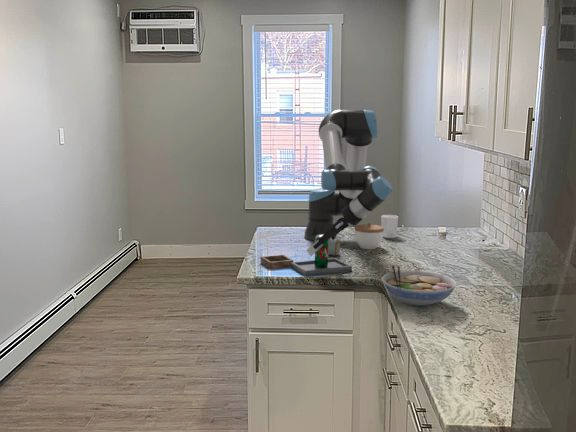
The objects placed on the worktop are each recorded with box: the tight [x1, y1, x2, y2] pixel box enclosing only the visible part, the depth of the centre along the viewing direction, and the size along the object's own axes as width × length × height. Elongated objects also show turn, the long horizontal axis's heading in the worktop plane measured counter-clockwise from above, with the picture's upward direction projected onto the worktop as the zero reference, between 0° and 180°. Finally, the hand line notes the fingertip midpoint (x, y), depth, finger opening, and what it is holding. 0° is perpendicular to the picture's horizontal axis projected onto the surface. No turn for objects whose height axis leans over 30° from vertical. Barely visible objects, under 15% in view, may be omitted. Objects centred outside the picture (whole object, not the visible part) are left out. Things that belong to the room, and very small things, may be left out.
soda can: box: [314, 234, 329, 268], centre depth 219 cm, size 5×5×12 cm
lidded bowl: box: [354, 222, 384, 250], centre depth 256 cm, size 13×13×11 cm
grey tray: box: [290, 257, 353, 277], centre depth 220 cm, size 19×13×2 cm
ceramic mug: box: [328, 238, 341, 257], centre depth 244 cm, size 11×8×8 cm
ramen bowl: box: [381, 265, 458, 307], centre depth 182 cm, size 25×23×8 cm
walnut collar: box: [260, 254, 294, 270], centre depth 225 cm, size 10×10×2 cm
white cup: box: [380, 214, 399, 239], centre depth 279 cm, size 8×8×10 cm
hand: (313, 250), depth 220 cm, fingers open, 9 cm apart
